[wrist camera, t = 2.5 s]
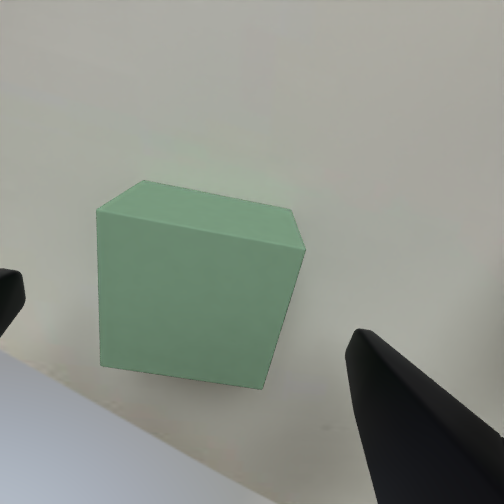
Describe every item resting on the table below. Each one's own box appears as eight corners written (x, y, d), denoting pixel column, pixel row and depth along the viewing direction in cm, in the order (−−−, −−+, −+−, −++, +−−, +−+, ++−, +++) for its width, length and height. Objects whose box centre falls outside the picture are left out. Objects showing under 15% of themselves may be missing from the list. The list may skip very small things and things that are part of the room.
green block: (291, 209, 10) (307, 249, 7) (260, 324, 12) (262, 390, 9) (142, 179, 10) (95, 209, 7) (137, 303, 12) (99, 366, 9)
